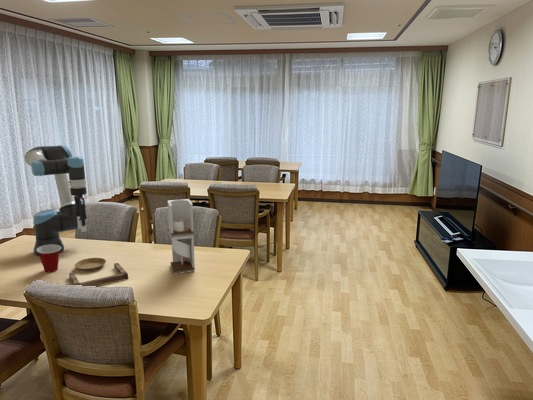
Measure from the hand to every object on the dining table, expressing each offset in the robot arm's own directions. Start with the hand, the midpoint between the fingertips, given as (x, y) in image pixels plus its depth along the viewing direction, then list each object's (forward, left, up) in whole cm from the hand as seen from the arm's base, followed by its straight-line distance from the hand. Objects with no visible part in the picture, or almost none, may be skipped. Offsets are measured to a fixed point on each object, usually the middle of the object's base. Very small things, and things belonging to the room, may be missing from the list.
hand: (82, 229), depth 207 cm
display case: (+41, +38, -17) cm, 58 cm away
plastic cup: (+6, -17, -17) cm, 25 cm away
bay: (+30, 0, -17) cm, 34 cm away
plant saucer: (+13, 0, -17) cm, 21 cm away
